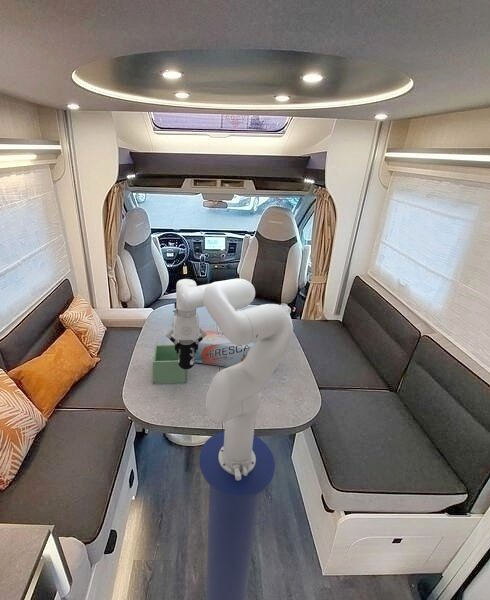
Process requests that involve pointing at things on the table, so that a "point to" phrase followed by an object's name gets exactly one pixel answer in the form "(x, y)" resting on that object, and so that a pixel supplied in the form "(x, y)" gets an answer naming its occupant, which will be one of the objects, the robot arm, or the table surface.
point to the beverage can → (186, 354)
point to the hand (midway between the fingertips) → (186, 350)
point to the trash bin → (167, 365)
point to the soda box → (220, 350)
